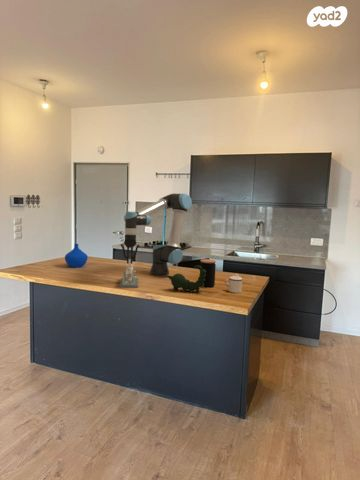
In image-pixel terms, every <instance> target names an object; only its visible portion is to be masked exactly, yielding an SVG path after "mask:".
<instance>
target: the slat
mask: <svg viewBox="0 0 360 480" xmlns="http://www.w3.org/2000/svg"><path fill="white" fill-rule="evenodd" d="M133 275H134V267H133V266H131V269H128V266H126V283H132V276H133Z"/></svg>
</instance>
